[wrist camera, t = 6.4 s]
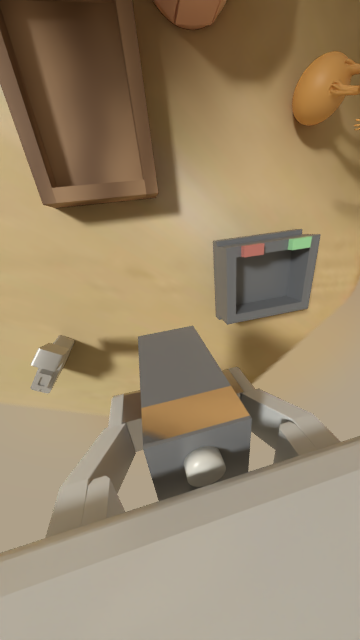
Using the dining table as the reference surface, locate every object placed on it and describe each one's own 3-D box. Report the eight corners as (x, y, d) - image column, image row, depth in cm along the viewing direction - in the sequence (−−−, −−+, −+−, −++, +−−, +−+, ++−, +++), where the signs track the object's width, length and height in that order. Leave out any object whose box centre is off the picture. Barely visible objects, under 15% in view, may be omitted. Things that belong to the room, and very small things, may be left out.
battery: (152, 399, 12) (169, 544, 7) (137, 336, 10) (143, 465, 5) (198, 387, 13) (251, 514, 7) (193, 325, 11) (260, 431, 5)
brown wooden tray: (54, 208, 17) (42, 204, 15) (-18, -10, 12) (-52, -64, 10) (155, 197, 19) (158, 192, 16) (127, -5, 14) (125, -51, 11)
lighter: (63, 367, 24) (31, 426, 17) (47, 363, 23) (7, 421, 16) (85, 318, 22) (60, 360, 15) (68, 312, 21) (34, 352, 14)
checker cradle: (216, 316, 25) (229, 330, 21) (212, 240, 21) (229, 242, 18) (286, 302, 26) (311, 314, 23) (295, 229, 23) (326, 228, 19)
